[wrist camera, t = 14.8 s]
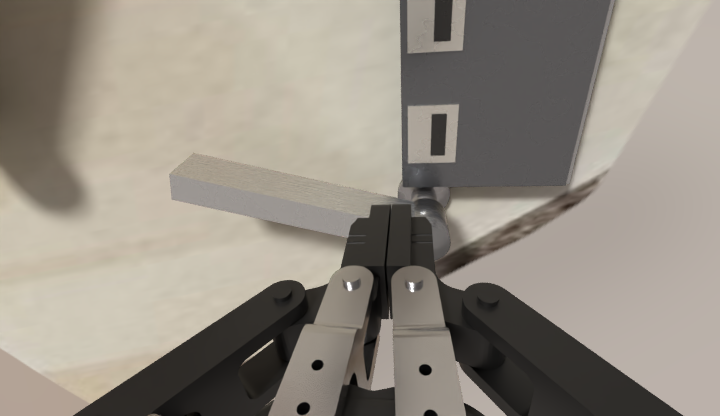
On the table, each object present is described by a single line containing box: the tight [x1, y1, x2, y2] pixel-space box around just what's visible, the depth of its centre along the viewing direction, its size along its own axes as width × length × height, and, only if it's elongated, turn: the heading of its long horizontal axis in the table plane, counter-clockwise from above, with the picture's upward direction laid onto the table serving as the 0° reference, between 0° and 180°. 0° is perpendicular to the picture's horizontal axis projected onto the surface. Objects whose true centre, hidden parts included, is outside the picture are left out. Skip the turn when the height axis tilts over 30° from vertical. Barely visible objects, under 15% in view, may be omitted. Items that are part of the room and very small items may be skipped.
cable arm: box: [169, 153, 450, 260], centre depth 32 cm, size 23×4×4 cm, turn 79°
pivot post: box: [398, 180, 450, 207], centre depth 36 cm, size 5×5×4 cm
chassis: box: [400, 0, 615, 187], centre depth 30 cm, size 14×18×3 cm
